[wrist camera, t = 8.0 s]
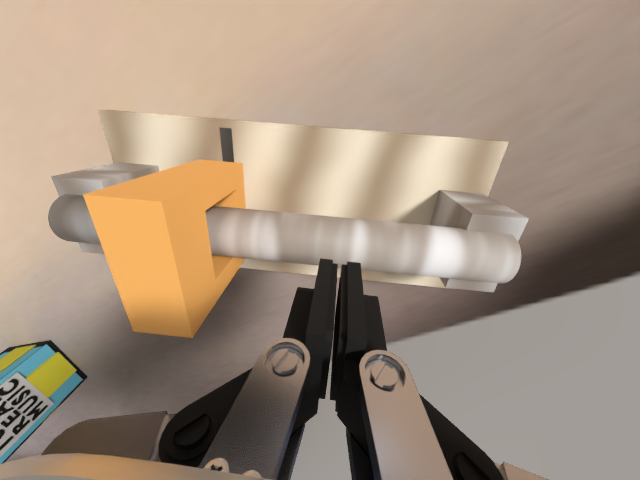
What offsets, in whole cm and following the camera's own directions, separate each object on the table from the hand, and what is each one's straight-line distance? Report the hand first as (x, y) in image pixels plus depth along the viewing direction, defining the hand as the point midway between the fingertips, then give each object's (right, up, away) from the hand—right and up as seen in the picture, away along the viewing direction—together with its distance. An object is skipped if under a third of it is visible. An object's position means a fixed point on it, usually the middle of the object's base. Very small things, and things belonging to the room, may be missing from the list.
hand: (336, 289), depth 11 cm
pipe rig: (-3, +5, +10) cm, 11 cm away
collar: (-8, +4, +8) cm, 12 cm away
